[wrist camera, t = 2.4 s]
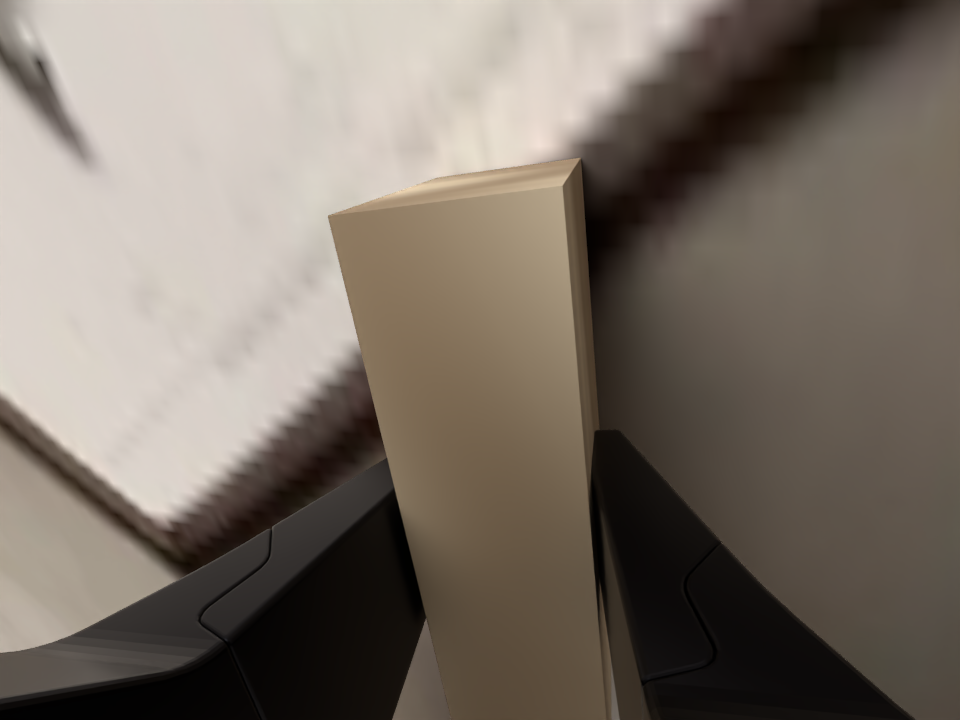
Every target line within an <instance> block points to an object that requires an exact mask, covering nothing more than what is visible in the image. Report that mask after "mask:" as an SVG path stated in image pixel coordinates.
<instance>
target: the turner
mask: <svg viewBox="0 0 960 720" xmlns="http://www.w3.org/2000/svg"><path fill="white" fill-rule="evenodd" d="M328 219H329V223H330V227H331V231H332V235H333V239H334V243H335V247H336V251H337V255H338V259H339V263H340V267H341V272H342V276H343V280H344V284H345V288H346V292H347V296H348V300H349V304H350V308H351V312H352V316H353V320H354V325H355V329H356V333H357V337H358V341H359V345H360V349H361V353H362V357H363V361H364V365H365V369H366V373H367V378H368V382H369V386H370V390H371V394H372V398H373V402H374V406H375V410H376V414H377V418H378V422H379V426H380V431H381V435H382V439H383V443H384V447H385V451H386V455H387V459H388V463H389V467H390V471H391V475H392V480H393V484H394V488H395V492H396V496H397V500H398V504H399V508H400V512H401V516H402V520H403V524H404V528H405V533H406V537H407V541H408V545H409V549H410V553H411V557H412V561H413V565H414V569H415V573H416V577H417V581H418V586H419V590H420V594H421V598H422V602H423V606H424V610H425V614H426V618H427V622H428V626H429V630H430V634H431V639H432V643H433V647H434V651H435V655H436V659H437V663H438V667H439V671H440V675H441V679H442V683H443V687H444V692H445V696H446V700H447V704H448V708H449V712H450V716H451V720H620V719H619V712H618V705H617V698H616V691H615V684H614V677H613V670H612V663H611V656H610V649H609V642H608V635H607V628H606V621H605V614H604V607H603V600H602V593H601V586H600V578H599V566H598V553H597V540H596V528H595V515H594V502H593V489H592V477H591V467H592V454H593V443H594V432H595V431H596V430H599V415H598V400H597V386H596V371H595V357H594V342H593V328H592V313H591V299H590V284H589V269H588V255H587V240H586V226H585V211H584V197H583V182H582V167H581V158H575V159H568V160H561V161H554V162H547V163H540V164H532V165H525V166H518V167H511V168H504V169H497V170H490V171H483V172H475V173H468V174H461V175H454V176H447V177H440V178H435V179H432V180H430V181H427V182H424V183H421V184H418V185H415V186H412V187H409V188H407V189H404V190H401V191H398V192H395V193H392V194H389V195H386V196H384V197H381V198H378V199H375V200H372V201H369V202H366V203H363V204H361V205H358V206H355V207H352V208H349V209H346V210H343V211H340V212H338V213H335V214H332V215H329V216H328Z"/></svg>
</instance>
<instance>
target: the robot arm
mask: <svg viewBox="0 0 960 720" xmlns="http://www.w3.org/2000/svg"><path fill="white" fill-rule="evenodd" d="M591 477H592V489H593V502H594V515H595V528H596V540H597V553H598V566H599V578H600V586H601V593H602V600H603V607H604V614H605V621H606V628H607V635H608V642H609V649H610V656H611V663H612V670H613V677H614V684H615V691H616V698H617V705H618V712H619V719H620V720H915V719H914V718H913V717H912V716H910V715H909V714H908V713H907V712H906V711H904V710H903V709H902V708H901V707H899V706H898V705H897V704H896V703H895V702H894V701H893V700H891V699H890V698H889V697H888V696H887V695H886V694H884V693H883V692H882V691H881V690H880V689H879V688H878V687H876V686H875V685H874V684H873V683H872V682H871V681H870V680H868V679H867V678H866V677H865V676H864V675H863V674H862V673H860V672H859V671H858V670H857V669H856V668H855V667H854V666H852V665H851V664H850V663H849V662H848V661H847V660H845V659H844V658H843V657H842V656H841V655H840V654H839V653H837V652H836V651H835V650H834V649H833V648H832V647H831V646H829V645H828V644H827V643H826V642H825V641H824V640H823V639H821V638H820V637H819V636H818V635H817V634H816V633H814V632H813V631H812V630H811V629H810V628H809V627H808V626H806V625H805V624H804V623H803V622H802V621H801V620H800V619H799V618H797V617H796V616H795V615H794V614H793V613H792V612H791V611H790V610H789V609H788V608H787V607H785V606H784V605H783V604H782V603H781V602H780V601H779V600H778V599H777V598H776V597H774V596H773V595H772V594H771V593H770V592H769V591H768V590H767V589H766V588H765V587H764V586H763V585H762V584H761V583H760V582H759V581H758V580H757V579H756V578H755V577H754V576H753V575H752V574H751V573H750V572H749V571H748V570H747V569H746V568H745V567H744V566H743V565H742V564H741V563H740V562H739V560H738V559H737V558H736V557H735V556H734V555H733V554H732V553H731V552H730V551H729V549H728V548H727V547H726V546H725V545H723V544H722V543H721V541H720V540H719V539H718V538H717V537H716V535H715V534H714V533H713V532H712V531H711V530H710V529H709V528H708V527H707V526H706V524H705V523H704V522H703V521H702V520H701V519H700V518H699V517H698V516H697V515H696V514H695V512H694V511H693V510H692V509H691V508H690V507H689V506H688V505H687V504H686V503H685V501H684V500H683V499H682V498H681V497H680V496H679V495H678V494H677V493H676V492H675V491H674V489H673V488H672V487H671V486H670V485H669V484H668V483H667V482H666V481H665V480H664V478H663V477H662V476H661V475H660V474H659V473H658V472H657V471H656V470H655V469H654V467H653V466H652V465H651V464H650V463H649V462H648V461H647V460H646V459H645V458H644V457H643V455H642V454H641V453H640V452H639V451H638V450H637V449H636V448H635V447H634V446H633V444H632V443H631V442H630V441H629V440H628V439H627V438H626V437H625V436H624V435H623V433H622V432H621V431H619V430H596V431H595V432H594V443H593V454H592V467H591ZM425 619H426V614H425V610H424V606H423V602H422V598H421V594H420V590H419V586H418V581H417V577H416V573H415V569H414V565H413V561H412V557H411V553H410V549H409V545H408V541H407V537H406V533H405V528H404V524H403V520H402V516H401V512H400V508H399V504H398V500H397V496H396V492H395V488H394V484H393V480H392V475H391V471H390V467H389V463H388V459H387V458H386V459H384V460H383V461H381V462H379V463H378V464H376V465H374V466H373V467H371V468H369V469H368V470H366V471H364V472H363V473H361V474H359V475H358V476H356V477H354V478H353V479H351V480H349V481H348V482H346V483H344V484H343V485H341V486H339V487H338V488H336V489H334V490H333V491H331V492H329V493H328V494H326V495H324V496H323V497H321V498H319V499H318V500H316V501H314V502H313V503H311V504H309V505H308V506H306V507H304V508H303V509H301V510H299V511H298V512H296V513H294V514H293V515H291V516H289V517H288V518H286V519H284V520H283V521H281V522H279V523H278V524H276V525H274V526H273V527H272V530H271V529H267V530H266V531H264V532H262V533H261V534H259V535H257V536H256V537H254V538H252V539H251V540H249V541H247V542H246V543H244V544H242V545H240V546H239V547H237V548H235V549H234V550H232V551H230V552H228V553H227V554H225V555H223V556H221V557H220V558H218V559H216V560H214V561H213V562H211V563H209V564H207V565H205V566H203V567H201V568H200V569H198V570H196V571H194V572H192V573H190V574H188V575H187V576H185V577H183V578H181V579H179V580H177V581H175V582H173V583H172V584H170V585H168V586H166V587H164V588H162V589H160V590H158V591H156V592H154V593H152V594H151V595H149V596H147V597H145V598H143V599H141V600H139V601H137V602H135V603H133V604H131V605H130V606H128V607H126V608H124V609H122V610H120V611H118V612H116V613H114V614H112V615H110V616H109V617H107V618H105V619H103V620H101V621H99V622H97V623H95V624H93V625H91V626H89V627H88V628H85V629H83V630H81V631H79V632H77V633H75V634H73V635H71V636H68V637H66V638H63V639H60V640H58V641H55V642H53V643H49V644H46V645H42V646H39V647H35V648H31V649H26V650H21V651H15V652H6V653H0V720H392V718H393V715H394V712H395V709H396V706H397V703H398V700H399V697H400V694H401V691H402V688H403V685H404V682H405V679H406V676H407V673H408V670H409V667H410V664H411V661H412V658H413V655H414V652H415V649H416V646H417V643H418V640H419V637H420V634H421V631H422V628H423V625H424V622H425Z"/></svg>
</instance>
